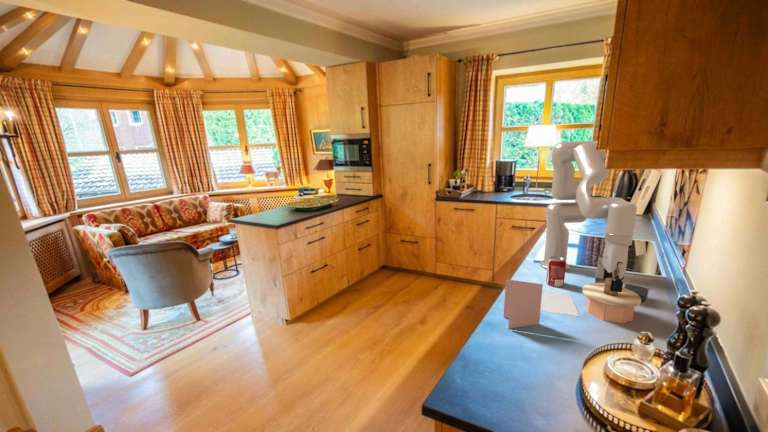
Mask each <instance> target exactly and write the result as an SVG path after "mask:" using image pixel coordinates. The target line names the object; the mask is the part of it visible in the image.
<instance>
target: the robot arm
mask: <svg viewBox="0 0 768 432" xmlns="http://www.w3.org/2000/svg"><path fill="white" fill-rule="evenodd" d="M597 143H598V140H597V141H596V140H589V141H588V140H587V141H584V140H583V141H577V140H576V141H563V142H559V143H556V144H555V145H554V146H553V148H552V152H551V163H552V166H553V174H552V184H551V196H552V198H553V199H555V200H556V201H559V202H552V203H550V204H548V205H547V207H546V208H545V217H546V233H545V245H544V246H545V247H544V258H543V260H541V261H540V264H539V265H540V266H541V268H543V269H545V270H547V267H548V261H549V259H550V257H552V256H558V257H562V258H564V259H565V263H566V269H565V272H566V271H569V269H570V265H569V264H568V263H567V258H568V248H569V239H570V238H569V237H570V231H569V229H568V228H567V226H566V225H565V224H570V223H571V224H572V223H573V224H575V223H576V224H577V223H583V222H585V221H587V219H589V220H592V219H593V220H594V219H595V220H596V219H599V220H601V219H603V220H604V219H606V226H605V235H604V242H605V244H604V249H603V252H604V254H603V259H602V264H603V266H604V268H605V269H604V275H603V279H604V280H606V278H613V280H611V287H610V290H611V291H613V292H622V287H623V288H624V280H625V279H624V278H625V273H626V271H627V267H628V266H627V265H628V258H629V257H628V255H629V246H632V243H633V238H634V231H635V223H636V217H637V211H638V210H637V209H638V208H637V207H638V206H637V205H636V203H634V202H630V201H627V200H625V199H624V198H622V197H618V196H617V197H616V196H615V197H613V196H612V197H592V187H594V186H595V185H599V184H600V183H602V182H603V181H605V180H606V179H608V176H609V170H608V168H607V169H605V165H606V164H605V160H606V151H600V150H597V149H596V147H597ZM573 162H575V163H576V166H577V168H578V171H579V174H580V177H581V178H575V173H576V169H575V166H574V165H573ZM560 201H565V202H560ZM566 201H567V202H566ZM569 201H571V202H569ZM615 274H618V275H617V276H616V277H615Z"/></svg>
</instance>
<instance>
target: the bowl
mask: <svg viewBox="0 0 768 432" xmlns="http://www.w3.org/2000/svg"><path fill="white" fill-rule="evenodd" d="M585 307H586V311H587V314H589V315H591V316H593V317H596V318H597V319H599V320H602V321H603V322H610V323H618V324H625V323H627V322H632V321H633V318H634V313H635V307H630V308H622V307H614V306H609V305H605V304H601V303H598V302H596V301H593V300H591V299H590V298H588V297H586V301H585Z"/></svg>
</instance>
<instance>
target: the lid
mask: <svg viewBox="0 0 768 432" xmlns="http://www.w3.org/2000/svg"><path fill="white" fill-rule="evenodd" d="M611 280H613V278H606V280H605V283H595V282H594V283H593V282H592V283H586V284H584V285H583V286H582V289H581V290H582V294H583V295H584V296H585V297H586V298H587V297H588V298H590V299H591V300H593V301H596V302H598V303H601V304H605V305H609V306H614V307H622V308H630V307H634V308H636V307H638V306H640V305H641V303H642V302H641V298H640V296H639V295H638V294H636V293H635V292H633V291H631V290H629V289H626V288H624V286H623V287H622V292H613V291H611V290H610V287H611Z"/></svg>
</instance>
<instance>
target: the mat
mask: <svg viewBox="0 0 768 432" xmlns="http://www.w3.org/2000/svg"><path fill="white" fill-rule="evenodd" d="M540 312H546V313H552V314H559V315H566V316H567V315H568V316H575V317H579V316H580V315H579V313H578V310H577V306H576V304H575V301H574V298H573V296H572V295H567V294H560V293H550V292H545V291H542V298H541V310H540Z"/></svg>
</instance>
